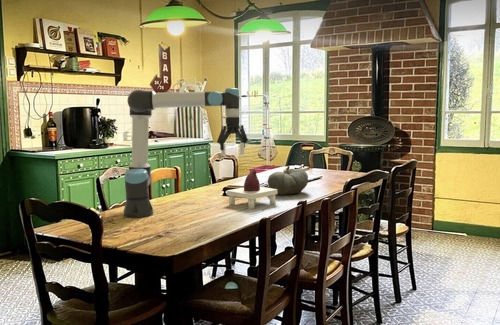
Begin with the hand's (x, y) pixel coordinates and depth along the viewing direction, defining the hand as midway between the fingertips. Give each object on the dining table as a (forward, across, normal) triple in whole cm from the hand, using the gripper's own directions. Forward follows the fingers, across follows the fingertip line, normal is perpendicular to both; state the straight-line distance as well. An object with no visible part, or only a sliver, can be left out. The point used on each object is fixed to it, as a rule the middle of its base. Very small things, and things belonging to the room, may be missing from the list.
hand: (232, 155), depth 270 cm
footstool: (+27, -7, +8) cm, 29 cm away
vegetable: (+20, -7, +8) cm, 22 cm away
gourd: (+27, -43, 0) cm, 51 cm away
